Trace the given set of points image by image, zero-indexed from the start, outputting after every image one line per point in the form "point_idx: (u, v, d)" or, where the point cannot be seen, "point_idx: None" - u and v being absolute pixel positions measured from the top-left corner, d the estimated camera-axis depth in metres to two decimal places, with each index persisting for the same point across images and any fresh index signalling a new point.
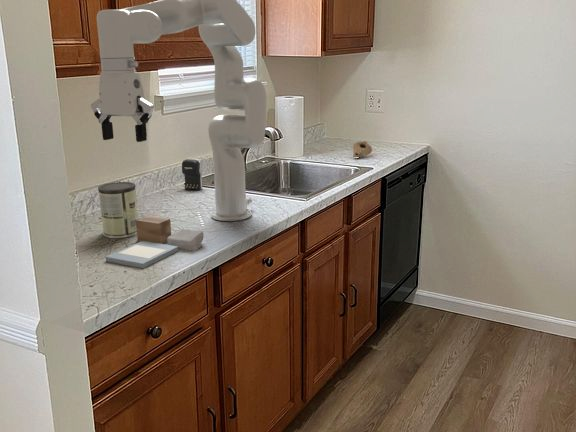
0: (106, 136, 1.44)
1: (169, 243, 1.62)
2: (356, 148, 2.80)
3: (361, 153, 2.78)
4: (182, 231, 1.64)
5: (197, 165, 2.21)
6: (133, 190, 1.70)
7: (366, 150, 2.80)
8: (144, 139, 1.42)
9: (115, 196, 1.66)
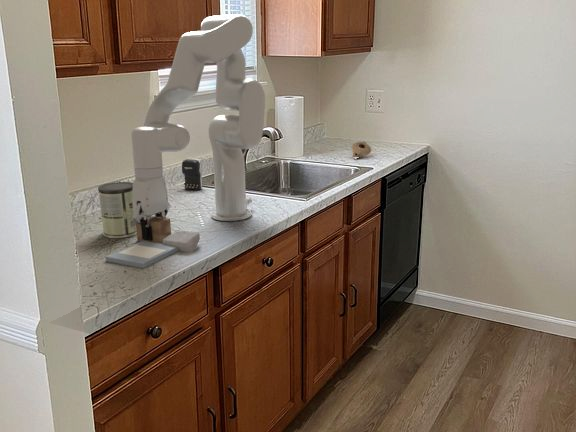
0: None
1: None
2: (355, 148, 2.80)
3: (360, 153, 2.78)
4: (178, 233, 1.62)
5: (197, 165, 2.21)
6: None
7: (365, 150, 2.79)
8: None
9: (115, 196, 1.66)
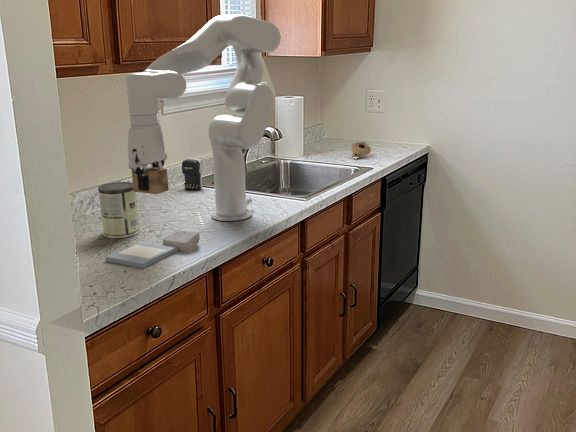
0: None
1: None
2: (355, 148, 2.80)
3: (360, 153, 2.78)
4: (178, 233, 1.62)
5: (197, 165, 2.21)
6: (133, 190, 1.70)
7: (365, 150, 2.79)
8: None
9: (115, 196, 1.66)
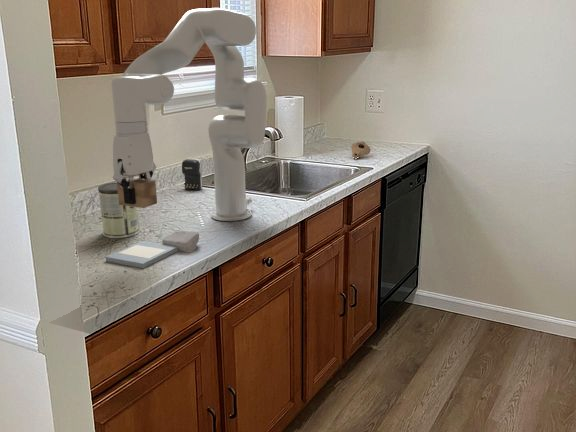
0: None
1: None
2: (355, 148, 2.79)
3: (360, 153, 2.78)
4: (177, 233, 1.62)
5: (197, 165, 2.21)
6: None
7: (365, 150, 2.79)
8: None
9: (115, 196, 1.66)
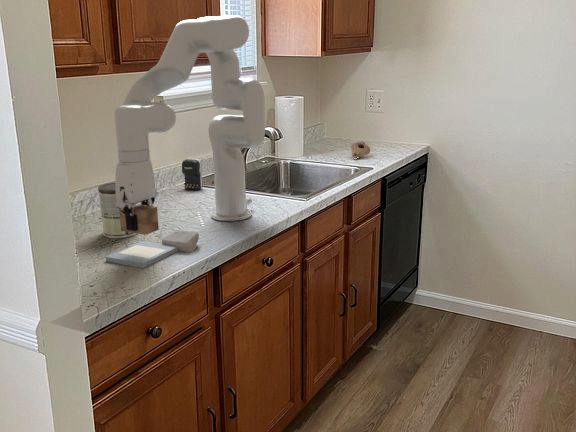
0: None
1: None
2: (354, 148, 2.79)
3: (360, 153, 2.77)
4: (177, 233, 1.62)
5: (197, 165, 2.21)
6: None
7: (365, 150, 2.79)
8: None
9: (115, 196, 1.66)
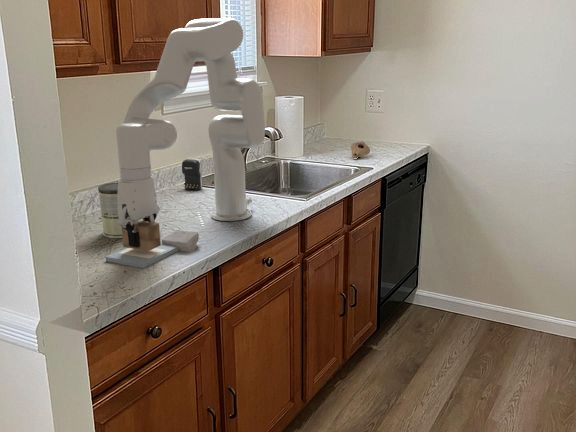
0: None
1: None
2: (354, 148, 2.79)
3: (360, 153, 2.77)
4: (176, 233, 1.62)
5: (197, 165, 2.21)
6: None
7: (364, 150, 2.79)
8: None
9: (115, 196, 1.66)
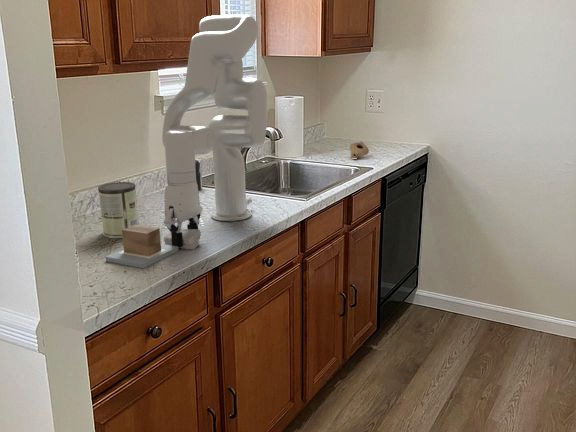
0: None
1: (166, 242, 1.61)
2: (353, 149, 2.78)
3: (359, 154, 2.77)
4: None
5: (197, 165, 2.21)
6: (133, 190, 1.70)
7: (363, 151, 2.78)
8: None
9: (115, 196, 1.66)
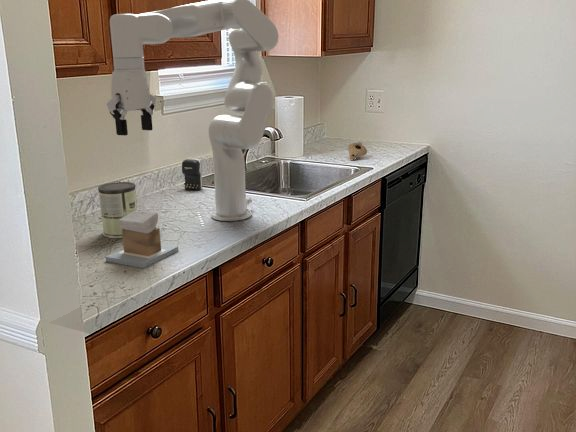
0: None
1: (121, 226, 1.52)
2: (352, 149, 2.77)
3: (357, 154, 2.76)
4: (135, 213, 1.54)
5: (197, 165, 2.21)
6: (133, 190, 1.70)
7: (362, 151, 2.77)
8: None
9: (115, 196, 1.66)
